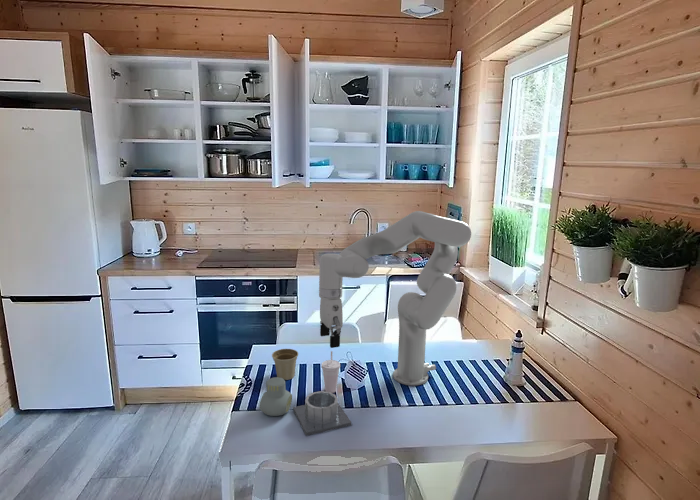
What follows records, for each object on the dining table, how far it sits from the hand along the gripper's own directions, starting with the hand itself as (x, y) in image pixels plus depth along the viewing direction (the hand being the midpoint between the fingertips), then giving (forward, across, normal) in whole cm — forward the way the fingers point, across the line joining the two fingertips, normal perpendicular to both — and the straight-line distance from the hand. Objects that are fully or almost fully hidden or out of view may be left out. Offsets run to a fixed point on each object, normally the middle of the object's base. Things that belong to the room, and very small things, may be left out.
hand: (329, 341), depth 145 cm
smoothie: (+18, 0, -1) cm, 18 cm away
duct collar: (+18, -14, +7) cm, 24 cm away
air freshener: (+19, -5, +19) cm, 27 cm away
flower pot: (+18, +15, +11) cm, 26 cm away
